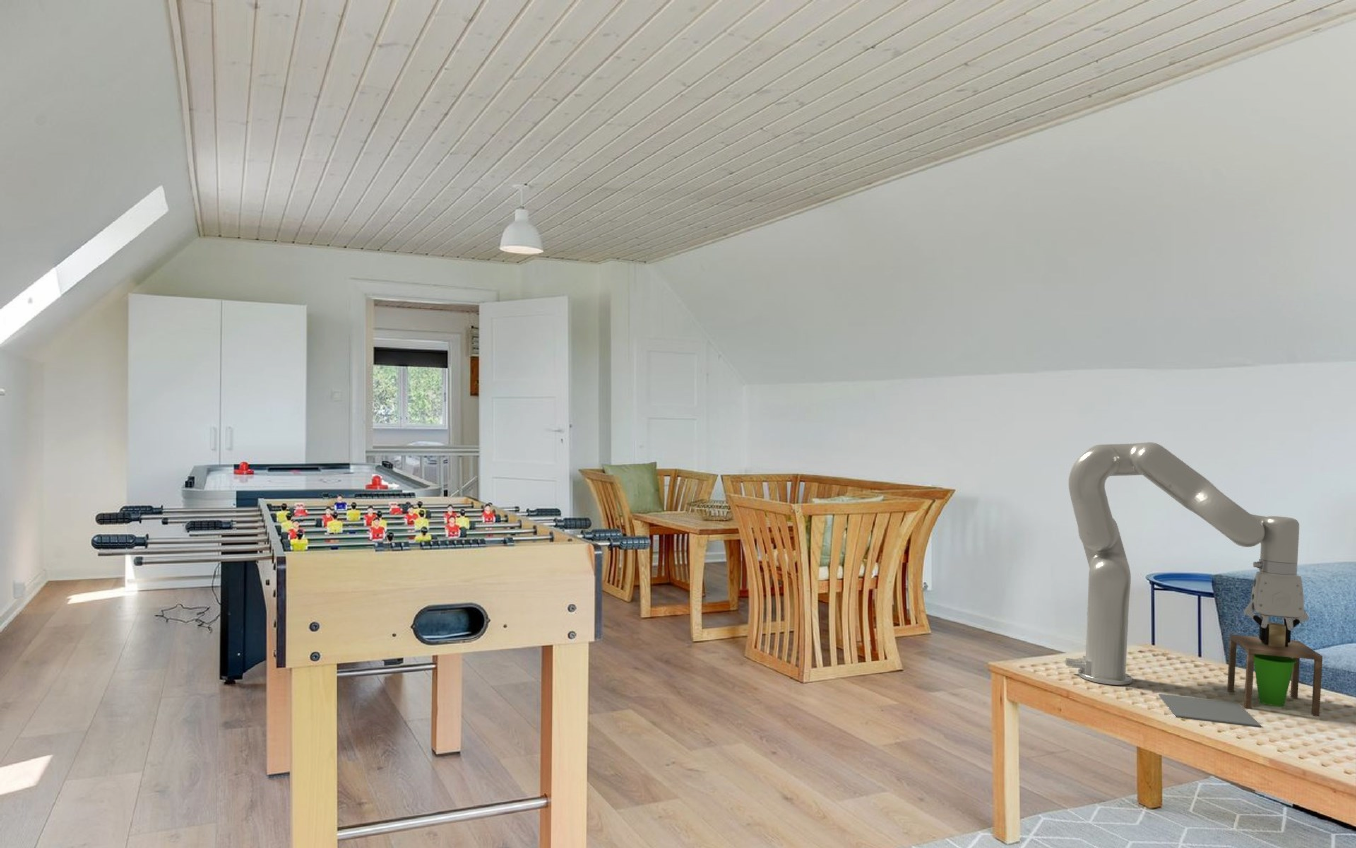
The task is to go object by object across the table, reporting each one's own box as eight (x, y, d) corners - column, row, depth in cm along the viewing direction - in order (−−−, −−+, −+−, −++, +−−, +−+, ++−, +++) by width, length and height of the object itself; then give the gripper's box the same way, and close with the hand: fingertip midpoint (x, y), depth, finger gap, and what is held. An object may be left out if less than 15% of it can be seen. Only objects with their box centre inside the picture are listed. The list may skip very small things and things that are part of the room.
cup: (1301, 710, 217) (1303, 664, 216) (1258, 706, 218) (1260, 660, 218) (1284, 699, 225) (1286, 654, 225) (1243, 695, 227) (1245, 650, 227)
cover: (1245, 708, 217) (1249, 627, 217) (1227, 690, 231) (1231, 614, 231) (1319, 716, 213) (1323, 634, 212) (1295, 697, 227) (1299, 620, 227)
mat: (1175, 717, 208) (1175, 715, 208) (1158, 695, 224) (1158, 693, 224) (1260, 727, 203) (1261, 725, 203) (1237, 704, 220) (1237, 702, 220)
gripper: (1244, 567, 220) (1240, 644, 220) (1324, 574, 216) (1320, 652, 216) (1234, 563, 227) (1231, 637, 228) (1312, 569, 223) (1308, 644, 223)
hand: (1274, 643), depth 222 cm, fingers closed on cover, 3 cm apart
